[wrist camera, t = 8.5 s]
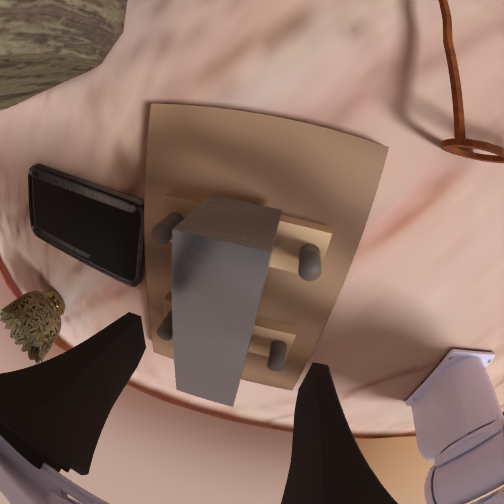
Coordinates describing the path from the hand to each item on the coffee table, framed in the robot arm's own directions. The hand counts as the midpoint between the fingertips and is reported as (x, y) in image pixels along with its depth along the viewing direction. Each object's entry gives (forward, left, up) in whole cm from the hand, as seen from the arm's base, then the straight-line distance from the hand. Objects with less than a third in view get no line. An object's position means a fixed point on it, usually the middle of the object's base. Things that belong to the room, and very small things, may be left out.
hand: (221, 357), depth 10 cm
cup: (-13, +23, -10) cm, 28 cm away
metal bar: (-2, +1, -7) cm, 8 cm away
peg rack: (-2, +1, -9) cm, 10 cm away
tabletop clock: (+15, +15, -10) cm, 23 cm away
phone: (-1, +16, -10) cm, 19 cm away
